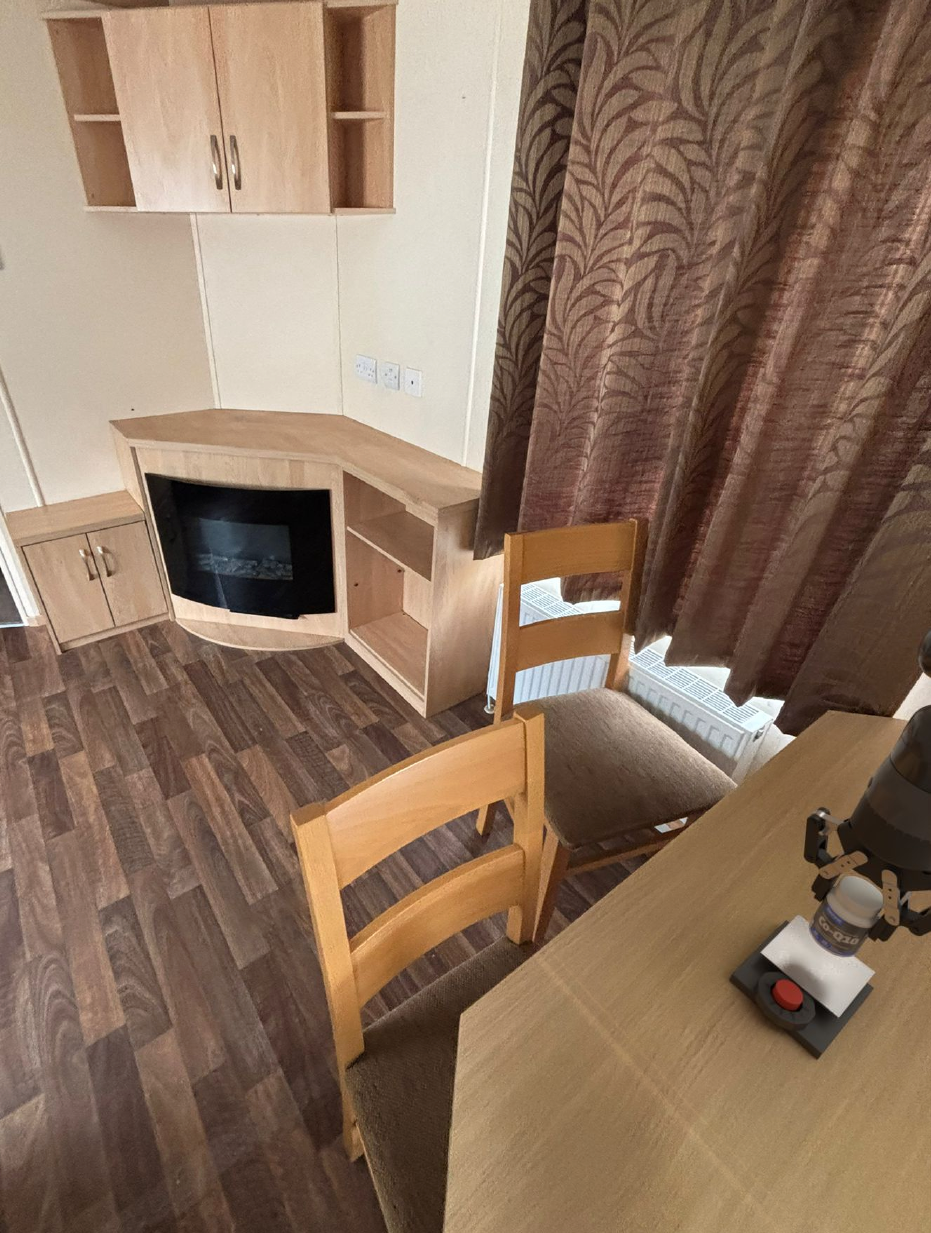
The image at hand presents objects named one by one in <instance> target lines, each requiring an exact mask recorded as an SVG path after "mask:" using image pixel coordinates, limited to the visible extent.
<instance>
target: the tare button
mask: <svg viewBox="0 0 931 1233" xmlns="http://www.w3.org/2000/svg"><path fill="white" fill-rule="evenodd" d="M772 994H773V997H774V999H775V1001H776V1002H777V1003H778V1004H779V1005H780V1006H781V1007H782V1008H784V1009H786V1010H791V1011H793V1010H796V1009H797V1008H798V1007H799V1005H800V1004H801V1002H802V1001H803V995H802V992H801V990H800V989H799V988H798V987H797V986H796V985H795V984H794V983H792V982H790V981H788V980H779V981H778V982H777V983H776V985H775V987H774V988H773V991H772Z"/></svg>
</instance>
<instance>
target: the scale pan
mask: <svg viewBox="0 0 931 1233" xmlns="http://www.w3.org/2000/svg"><path fill="white" fill-rule="evenodd" d="M789 922H790V923H789V924H788V925H787V926H786V927H785V928H784V929H783V930H782V931H781V932H780V933H779V934H778V935H777V936H776V937H775V938H774V939H773V940H772V941H771V942H770V943H769V944H768V945H767V946H766V947H765V948H764V949H763V950H762V951H761V952H760V955H761V956H763V957H764V958H765V959H766V960H767V961H768V962H770V963H771V964H772V965H773V966H774V967H776V968H777V969H778V970H779V971H780V972H782V973H783V974H784V975H785V976H786V977H788V978H789V979H790V980H791V981H792V982H794V983H795V984H796V985H797V986H798V987H799V988H801V989H802V990H803V991H804V992H805V993H807V994H808V995H809V996H810V997H811V998H813V999H814V1000H815V1001H816V1002H817V1003H819V1004H820V1005H821V1006H822V1007H823V1008H825V1009H826V1010H827V1011H828V1012H829V1013H830V1014H832V1015H833V1016H834V1017H835V1018H836V1019H838V1018H839V1017H840V1016H841V1015H842V1013H843V1012H844V1011H845V1010H846V1008H847V1007H848V1006H849V1005H850V1003H851V1002H852V1001H853V1000H854V999H855V997H856V996H857V995H858V994H859V992H860V991H861V990H862V989H863V987H864V986H865V985H866V984H867V983H869V981H871V979H872V978H873V977H874V975H875V974H876V971H875V970H873V969H872V968H871V967H869V966H868V965H866V963H864V962H863V961H861V960H860V959H858V958H857V957H856V956H855V955H853V956H851V957H839V956H835V955H833V954H831V953H829V952H828V951H826V950H825V949H823V948H822V947H821V946H819V945H818V944H817V943H816V941H815V940H814V939H813V937H812V936H811V934H810V931H809V923H810V921H808V920H807V919H806V918H805V917H803V916H802V915H801V914H799V913H798V914H797V915H796V916H794V917H793V919H792V920H791V921H789Z"/></svg>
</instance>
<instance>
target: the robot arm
mask: <svg viewBox="0 0 931 1233" xmlns="http://www.w3.org/2000/svg"><path fill="white" fill-rule="evenodd" d="M918 644H919V645H918V648H917V655H916V656H917V663H918V666H919V668H920V670H921V671H922V673H923V674H924V675H925V676H927V677H928V678H930V679H931V627H929V629H927V631H926V632H925V633H924V635H923V636H922V638H921V639H920V642H919V643H918ZM867 782H868V783H867V786H866V789H865V790H864V792H863V794H862V795H861V798H860V800H859V801H858V803H857V805H856V807H855V808H854V810H853V812H852V814H851V816H850V817H848V818H846V819H844V820H842V819H839V818H838V817H836V816H832V815H831V811H830V810H829V809H827V808H826V807H824V806H820V807H819V808H817V809H816V810H814V811H813V812H812V813H811V814H810V815H809V816H808V817H807V818H806V826H805V836H804V848H803V858H804V860H805V861H806V862H808V863H809V864H813V865H815V867H817V868H818V874H817V875H816V877H815V879H814V881H813V882H812V884H811V887H810V888H811V892H813V893H814V895H813V899H814V900H816V901H818V903H821V902H822V901H823V899H824V897H825V896H826V894H827V892H828V891H829V890H830V889H831V888H832V887H834V886H835V885H836V883H837V881H838V879H839V878H840V876H841V875H843V874H845V873H847V872H848V871H851V870H852V871H854V872H855V873H857V874H858V875H861V876H863V877H865V878H867V879H868V880H869V881H871V883H873V884H874V886H875V887H878V888H879V889H881V890H882V896H883V903H884V913H883V914H882V915H880V918H879V920H878V922H877V923H876V925H875V926H874V928H873V929H872V931H871V932H870V934H869V935H868V939H870V940H871V941H872V942H873V943H876V941H877V940H880V941H881V942H883V943H885V942H888V941H889V939H891V937H893V935H894V933H895V932H896V930H897V929H898V928H899V927H904V928H906V929H907V930H908V931H909V932H910V933H911V934H912V935H914V936H916V937H923V936H925V935H927V934H929V933H930V932H931V905H930V906H928V907H926V908H923V909H922V910H920V911H916V910H913V909H911V896H912V893H913V892H927V891H930V892H931V704H928V705H927V704H926V705H924V706H922V707H920V708H919V709H917V710H916V711H915V712H914V713H913V714H912V715H911V717H910V718H909V720H908V722H907V723H906V725H905V726H904V728H903V729H902V732H901V734H900V736H899V737H898V739H897V741H896V743H895V744H894V746H893V748H892V750H891V751H890V753H889V755H888V756H887V757H886V758H884V760H883V761H882V763H881V764H880V765H879V767H878V768H877V769H876V770H875V773H874V774H873V775H872V776H871V777H870V779H869V781H867ZM833 832H836V834H837V836H838V839H839V842H840V845H841V848H842V851H841V852H840V853H838V854H836V855H834V856H831V855H830V853H829V852H828V842H829V836H830V835H831V834H832V833H833Z"/></svg>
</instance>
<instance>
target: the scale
mask: <svg viewBox="0 0 931 1233" xmlns="http://www.w3.org/2000/svg"><path fill="white" fill-rule="evenodd" d="M790 922H791V921H788V920H785V921H784V922H783V923H781V924H780V925H779V926H778V928H777V929H775V930H774V931H773V932H772V933H771V935H769V937H768V938H767V939H766V940H764V941H763V942H762V944H761V945H759V946H758V947H757V948H756V949H755V951H753V953H752V954H751V955H749V956H748V958H746V960H744V961H743V962H742V964H740V966H738V967H737V968H736V970H734V972H732V974H731V975H730V977H729V982H730V983H731V984H732V985H734V986H735V987H736V988H737V989H738V990H739V991H740V992H741V993H742V994H744V995H745V996H746V997H747V998H748V999H749V1000H750V1001H751V1002H752V1003H754V1005H755V1006H757V1007H758V1008H759V1009H760V1010H761V1013H762V1014H764V1015H765V1016H766V1017H767V1019H769V1020H770V1021H771V1022H772V1023H773V1024H775V1025H776V1026H778V1027H780V1028H781V1029H782V1030H783V1031H785V1033H787V1034H788V1035H789V1036H790V1037H791V1038H792V1039H793V1040H794V1041H796V1042H797V1043H798V1044H799V1045H800V1046H801V1047H803V1049H805V1050H806V1051H807V1052H808V1054H810V1055H811V1056H812V1057H813V1058H815V1059H816V1060H819V1059H820V1058H821V1056H822V1055H823V1054H824V1053H825V1052H826V1050H827V1049H828V1048H829V1047H830V1045H831V1044H832V1042H833V1041H834V1040H835V1039H836V1038H837V1037H838V1035H839V1034H840V1032H841V1031H842V1030H843V1028H845V1026H846V1025H847V1024H848V1022H849V1021H850V1020H851V1019H852V1018H853V1016H855V1014H856V1012H857V1011H858V1010H859V1008H860V1007H862V1005H863V1004H864V1002H865V1001H866V1000H867V999H868V997H869V996H870V995H871V993H872V992H873V991H874V989H875V987H873V985H871V984H870V983H869V982H867V984H866V985H865V986H864V987H863V989H862V990H861V991H860V992H859V994H858V995H857V996H856V997H855V999H854V1000H853V1001H852V1002H851V1003H850V1005H849V1006H848V1007H847V1008H846V1010H845V1011H844V1012H843V1013H842V1015H841V1016H840V1017H839V1018H838V1019H836V1018H835V1017H834V1016H833V1015H832V1014H830V1013H829V1012H828V1011H827V1010H826V1009H825V1008H823V1007H822V1006H821V1005H820V1004H819V1003H817V1002H816V1001H815V1000H814V999H813V998H811V997H810V996H809V995H808V994H807V993H805V992H804V991H803V990H802V989H801V988H799V987H798V986H797V985H796V984H795V983H794V982H792V981H791V980H790V979H789V978H788V977H786V976H785V975H784V974H783V973H782V972H780V971H779V970H778V969H777V968H776V967H774V966H773V965H772V964H771V963H770V962H768V961H767V960H766V959H765V958H764V957H763V956H761V955H760V952H761V951H762V950H763V949H764V948H765V947H766V946H767V945H768V944H769V943H770V942H771V941H772V940H773V939H774V938H775V937H776V936H777V935H778V934H779V933H780V932H781V931H782V930H783V929H784V928H785V927H786V926H787V925H788V924H789V923H790ZM779 980H788V981H790V982H792V983H794V984H795V985H796V986H797V987H798V988H799V989H800V990H801V992H802V995H803V1001H802V1002H801V1004H800V1005H799V1007H798V1008H797V1009H796V1010H793V1011H791V1010H786V1009H784V1008H782V1007H781V1006H780V1005H779V1004H778V1003H777V1002H776V1001H775V999H774V997H773V994H772V991H773V988H774V987H775V985H776V983H777V982H778V981H779Z"/></svg>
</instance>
